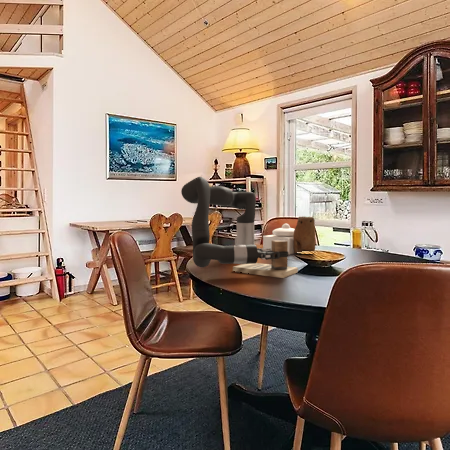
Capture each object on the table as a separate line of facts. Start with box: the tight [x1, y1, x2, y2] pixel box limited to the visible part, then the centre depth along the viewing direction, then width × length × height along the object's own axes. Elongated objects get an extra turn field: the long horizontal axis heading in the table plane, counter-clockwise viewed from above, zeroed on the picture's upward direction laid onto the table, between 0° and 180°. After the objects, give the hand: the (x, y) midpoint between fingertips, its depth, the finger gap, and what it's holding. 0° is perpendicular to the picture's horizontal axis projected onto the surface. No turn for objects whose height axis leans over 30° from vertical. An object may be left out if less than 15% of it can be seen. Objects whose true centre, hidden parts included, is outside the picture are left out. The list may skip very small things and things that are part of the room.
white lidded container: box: [262, 223, 295, 256], centre depth 216 cm, size 18×18×16 cm
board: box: [232, 262, 299, 279], centre depth 158 cm, size 23×13×2 cm, turn 55°
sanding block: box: [270, 240, 288, 270], centre depth 154 cm, size 5×5×11 cm
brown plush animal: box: [294, 216, 316, 253], centre depth 204 cm, size 11×8×20 cm
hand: (285, 253), depth 154 cm, fingers closed on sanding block, 4 cm apart
